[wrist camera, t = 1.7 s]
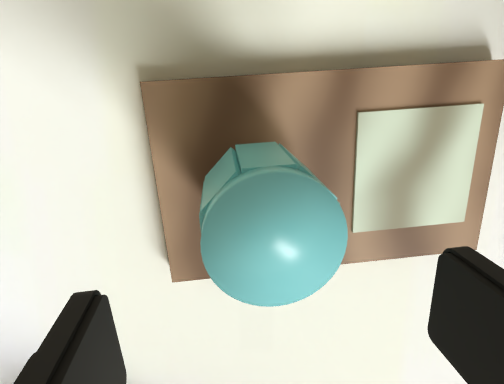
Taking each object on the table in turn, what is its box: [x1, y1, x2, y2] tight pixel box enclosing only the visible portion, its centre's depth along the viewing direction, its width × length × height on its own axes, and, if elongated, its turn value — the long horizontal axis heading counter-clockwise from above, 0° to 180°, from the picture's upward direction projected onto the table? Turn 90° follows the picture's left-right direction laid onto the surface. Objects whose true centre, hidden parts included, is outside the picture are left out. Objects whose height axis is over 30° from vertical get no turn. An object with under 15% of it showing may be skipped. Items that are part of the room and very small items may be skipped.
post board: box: [140, 59, 504, 282], centre depth 19 cm, size 22×13×8 cm, turn 93°
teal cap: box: [199, 142, 348, 306], centre depth 16 cm, size 6×6×6 cm
